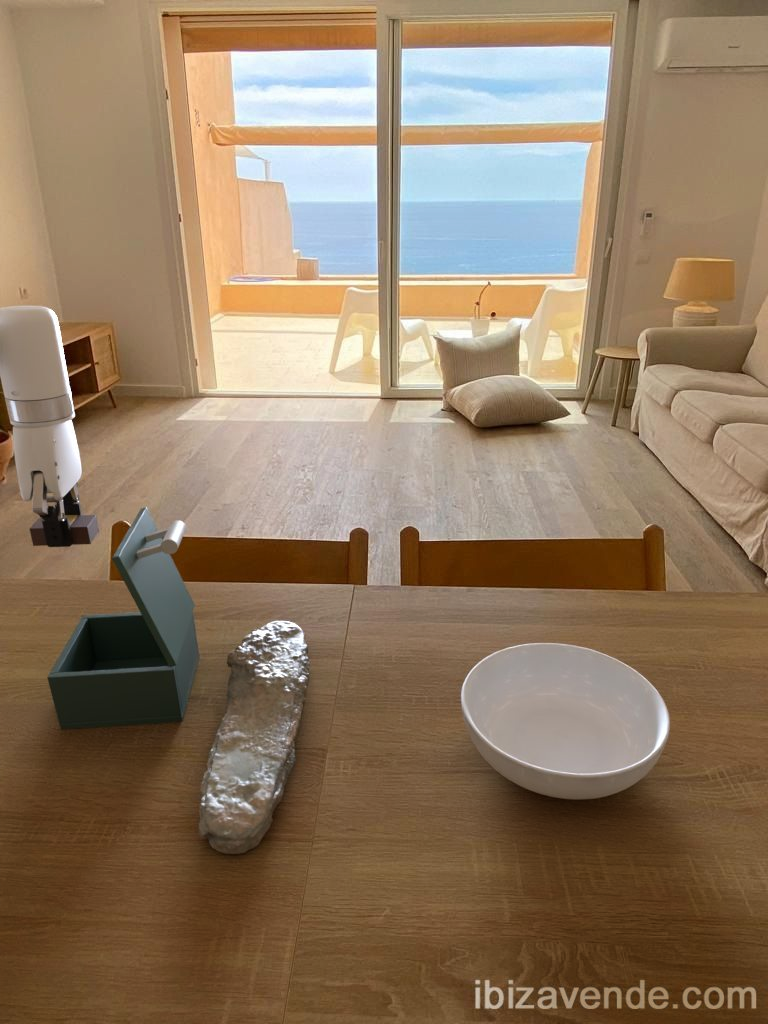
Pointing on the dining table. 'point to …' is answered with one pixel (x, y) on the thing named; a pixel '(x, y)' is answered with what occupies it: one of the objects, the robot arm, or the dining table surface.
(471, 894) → the dining table surface
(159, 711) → the green bin
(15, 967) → the dining table surface
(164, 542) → the bin lid
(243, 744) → the foil wrapped baguette
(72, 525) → the chocolate bar
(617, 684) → the serving bowl
